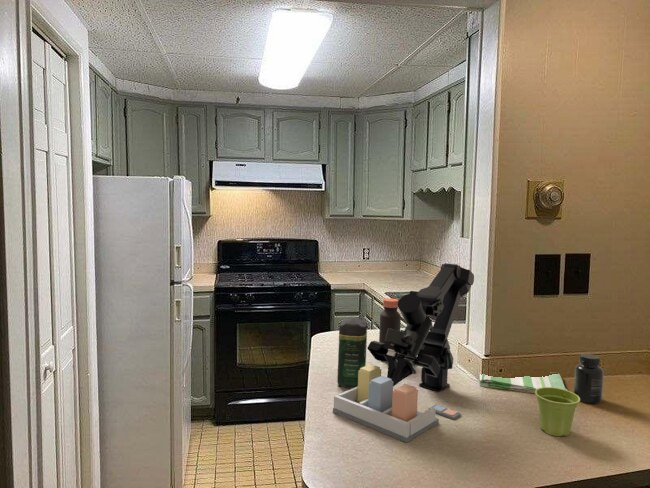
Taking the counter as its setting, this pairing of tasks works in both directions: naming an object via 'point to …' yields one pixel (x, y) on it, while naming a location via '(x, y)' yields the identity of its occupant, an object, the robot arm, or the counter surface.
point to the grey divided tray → (382, 417)
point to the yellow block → (366, 380)
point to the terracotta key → (405, 402)
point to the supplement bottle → (589, 379)
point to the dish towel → (522, 382)
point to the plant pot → (556, 410)
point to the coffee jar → (351, 351)
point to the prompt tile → (446, 412)
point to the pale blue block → (380, 393)
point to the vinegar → (389, 320)
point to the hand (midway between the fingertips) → (387, 387)
